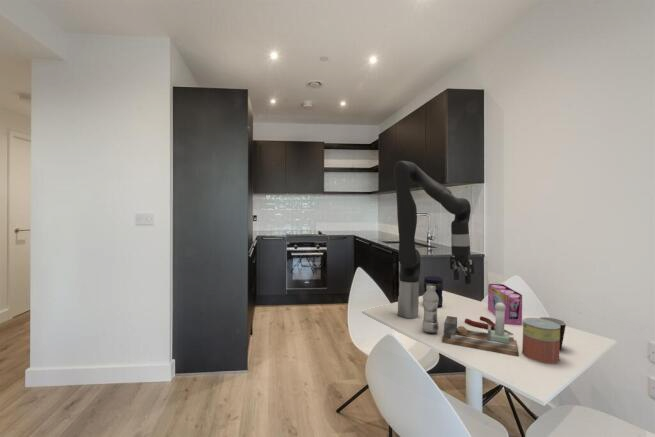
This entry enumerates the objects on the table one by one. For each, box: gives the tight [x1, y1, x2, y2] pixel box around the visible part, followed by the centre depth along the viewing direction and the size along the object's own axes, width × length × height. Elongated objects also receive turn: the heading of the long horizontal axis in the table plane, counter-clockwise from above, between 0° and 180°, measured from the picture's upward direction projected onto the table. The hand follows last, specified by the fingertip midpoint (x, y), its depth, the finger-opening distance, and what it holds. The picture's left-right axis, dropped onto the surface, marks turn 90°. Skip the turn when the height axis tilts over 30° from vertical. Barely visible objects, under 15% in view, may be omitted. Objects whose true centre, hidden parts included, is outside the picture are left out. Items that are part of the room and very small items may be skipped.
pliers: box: [464, 316, 514, 336], centre depth 144 cm, size 12×20×3 cm, turn 22°
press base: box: [441, 315, 519, 357], centre depth 128 cm, size 26×12×8 cm, turn 63°
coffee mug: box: [539, 316, 567, 351], centre depth 127 cm, size 12×9×10 cm
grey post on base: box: [487, 302, 509, 344], centre depth 125 cm, size 7×7×15 cm
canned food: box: [521, 317, 561, 365], centre depth 117 cm, size 11×11×12 cm
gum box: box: [487, 283, 523, 326], centre depth 160 cm, size 24×8×14 cm, turn 172°
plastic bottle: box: [421, 284, 439, 334], centre depth 139 cm, size 6×7×20 cm
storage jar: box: [423, 275, 444, 309], centre depth 177 cm, size 10×10×15 cm
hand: (462, 281), depth 141 cm, fingers open, 8 cm apart
